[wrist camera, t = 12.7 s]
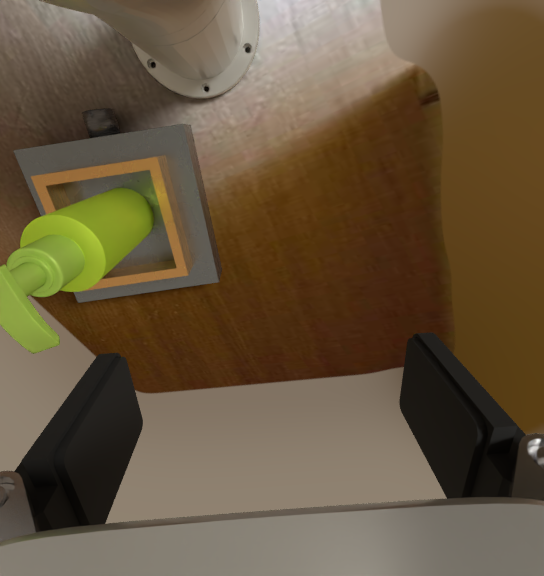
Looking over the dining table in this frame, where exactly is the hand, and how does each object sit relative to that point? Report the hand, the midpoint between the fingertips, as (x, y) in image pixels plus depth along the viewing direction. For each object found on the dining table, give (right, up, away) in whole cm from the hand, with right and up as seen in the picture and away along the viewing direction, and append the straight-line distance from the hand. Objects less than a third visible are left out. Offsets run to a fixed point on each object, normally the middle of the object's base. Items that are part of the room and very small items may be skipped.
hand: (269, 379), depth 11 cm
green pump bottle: (-15, +10, +26) cm, 32 cm away
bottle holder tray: (-16, +13, +29) cm, 35 cm away
